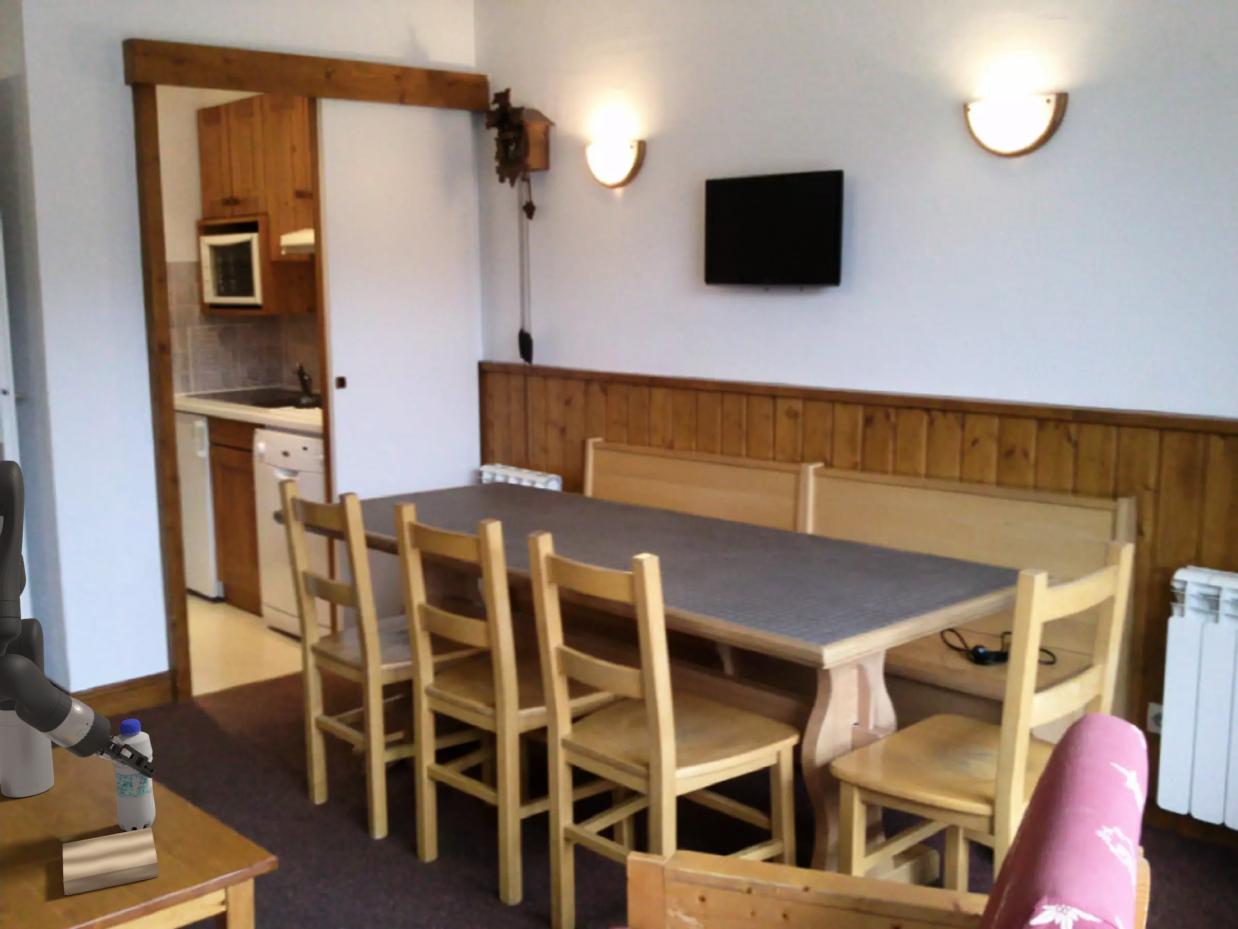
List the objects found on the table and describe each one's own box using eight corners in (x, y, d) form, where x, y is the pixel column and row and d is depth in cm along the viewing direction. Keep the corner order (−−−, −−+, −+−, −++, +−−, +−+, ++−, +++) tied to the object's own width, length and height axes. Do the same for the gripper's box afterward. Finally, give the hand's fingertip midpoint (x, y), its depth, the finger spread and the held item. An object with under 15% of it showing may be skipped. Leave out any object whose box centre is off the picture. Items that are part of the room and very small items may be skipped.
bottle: (161, 829, 213) (153, 722, 210) (120, 838, 210) (112, 729, 207) (153, 815, 219) (145, 710, 216) (114, 824, 215) (105, 717, 212)
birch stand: (63, 857, 203) (62, 844, 203) (152, 841, 209) (151, 827, 208) (64, 896, 191) (63, 881, 190) (158, 876, 196) (157, 862, 196)
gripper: (112, 714, 200) (178, 758, 212) (64, 698, 208) (130, 741, 220) (85, 755, 197) (153, 797, 208) (37, 737, 205) (105, 778, 216)
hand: (141, 768), depth 214 cm, fingers closed on bottle, 6 cm apart
